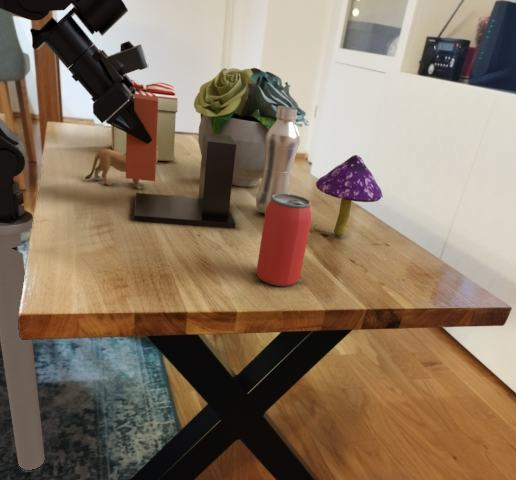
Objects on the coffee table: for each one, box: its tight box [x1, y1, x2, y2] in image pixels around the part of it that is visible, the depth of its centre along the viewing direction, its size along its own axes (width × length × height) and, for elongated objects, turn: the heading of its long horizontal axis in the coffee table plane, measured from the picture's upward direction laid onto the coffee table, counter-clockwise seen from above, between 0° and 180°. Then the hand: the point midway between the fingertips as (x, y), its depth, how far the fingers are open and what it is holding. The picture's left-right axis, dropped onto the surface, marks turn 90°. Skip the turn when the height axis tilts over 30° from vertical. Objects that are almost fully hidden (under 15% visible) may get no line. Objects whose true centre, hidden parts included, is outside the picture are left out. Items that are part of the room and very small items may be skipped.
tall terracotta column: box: [125, 94, 158, 182], centre depth 88 cm, size 5×6×13 cm
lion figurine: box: [84, 146, 158, 190], centre depth 104 cm, size 15×5×9 cm, turn 103°
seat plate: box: [133, 133, 237, 229], centre depth 93 cm, size 18×14×14 cm
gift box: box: [110, 79, 179, 162], centre depth 129 cm, size 17×18×17 cm
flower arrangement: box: [193, 67, 310, 188], centre depth 115 cm, size 25×25×24 cm
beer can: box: [255, 193, 312, 287], centre depth 73 cm, size 7×7×12 cm
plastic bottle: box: [255, 106, 301, 215], centre depth 98 cm, size 6×7×20 cm
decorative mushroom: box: [315, 154, 384, 237], centre depth 94 cm, size 12×12×15 cm
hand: (150, 138), depth 89 cm, fingers closed on tall terracotta column, 6 cm apart
